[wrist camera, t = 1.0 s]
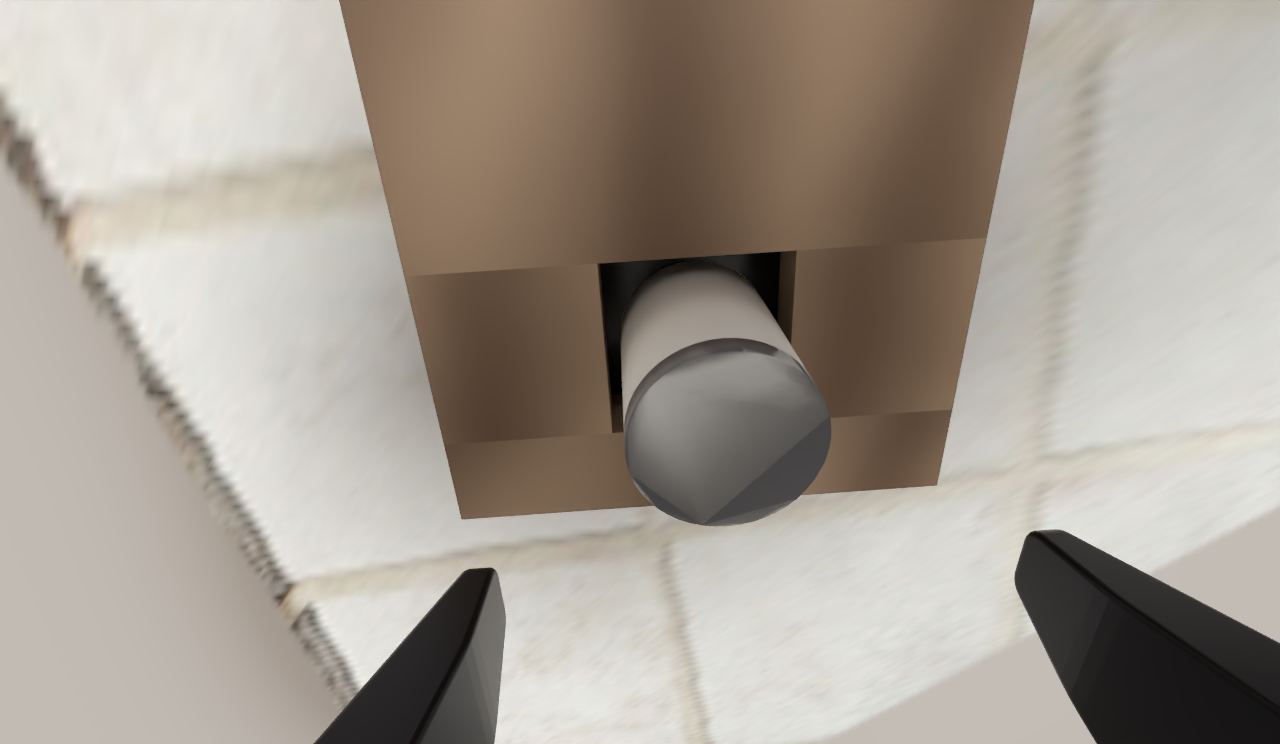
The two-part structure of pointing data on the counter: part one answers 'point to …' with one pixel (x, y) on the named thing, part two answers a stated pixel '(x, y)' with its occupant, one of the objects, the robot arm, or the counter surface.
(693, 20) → the wooden holder block
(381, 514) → the counter surface
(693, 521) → the plug
